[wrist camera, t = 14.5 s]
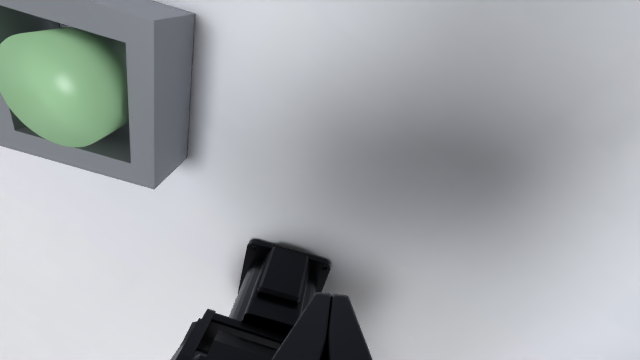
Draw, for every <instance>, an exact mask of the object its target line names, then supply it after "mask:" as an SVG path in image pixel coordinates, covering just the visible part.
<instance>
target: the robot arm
mask: <svg viewBox="0 0 640 360" xmlns="http://www.w3.org/2000/svg"><path fill="white" fill-rule="evenodd" d="M253 246H256V247H253ZM323 265H324V266H325V267H324V266H323ZM330 267H331V263H330V262H329V261H328V260H326V259H322V258H319V257H315V256H311V255H308V254H304V253H301V252H297V251H294V250H290V249H287V248H283V247H279V246H276V245H272V244H269V243H265V242H262V241H258V240H251V241H250V242H249V244H248V246H247V250H246V255H245V260H244V265H243V270H242V275H241V280H240V285H239V290H238V296H237V298H236V301H235V303H234V305H233V308H232V310H231V313H230V315H229V317H227V316H224V315H221V314H217V313H215V312H216V311H213V310H210V309H207V311H206V312H205V314H204V316H203V318H202V319H200V318H199V319H198V321H197V322H193V323H192V324H191V326H190V328H189V330H188V332H187V334H186V336H185V338H184V340H183V342H182V344H181V345H180V347H179V348H178V350H177V351H176V353H175V354H174V355H173V357H172V358H171V360H372V357H371V355H370V352H369V349H368V347H367V344H366V341H365V339H364V336H363V333H362V331H361V328H360V326H359V323H358V320H357V318H356V315H355V312H354V310H353V307H352V305H351V302H350V299H349V297H348V296H346V295H339V294H334V295H332V296H331V294H329V293H321V291H322V289H323V286H324V284H325V281H326V279H327V276H328V274H329V271H330Z"/></svg>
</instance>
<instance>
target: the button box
mask: <svg viewBox="0 0 640 360" xmlns="http://www.w3.org/2000/svg"><path fill="white" fill-rule="evenodd" d="M194 21H195V14H194V13H191V12H187V11H184V10H181V9H177V8H174V7H171V6H168V5H164V4H161V3H158V2H154V1H151V0H0V44H1V43H2V42H3V41H4V40H5V39H6V38H8V37H10V36H12V35H16V34H20V33H27V32H35V31H42V30H49V29H57V28H60V25H59V23H61V24H65V25H68V26H71V27H75V28H78V29H81V30H85V31H88V32H91V33H95V34H98V35H101V36H105V37H108V38H111V39H115V40H118V41H121V42H125V43H126V62H127V85H128V108H129V124H126V125H124V126H122V127H121V128H119V129H117V130H115V131H114V132H112V133H110V134H109V135H107V136H105V137H103V138H102V139H100V140H98V141H96V142H95V143H93V144H91V145H88V146H84V147H67V146H62V145H59V144H56V143H53V142H51V141H49V140H46V139H45V138H43V137H41V136H39V135H38V134H36V133H35V132H33V131H32V130H31V129H30V128H28V127H27V126H26V125H25V124H24V123H23V122H22V121H20V119H19V118H18V117H17V116H16V115H15V114H14V113H13V112H12V110H11V109H10V108H9V106H8V105H7V103H6V102H5V100H4V98H3V97H2V95H1V93H0V146H3V147H6V148H10V149H14V150H17V151H21V152H24V153H28V154H31V155H35V156H38V157H42V158H45V159H49V160H52V161H56V162H59V163H63V164H67V165H70V166H74V167H77V168H81V169H84V170H88V171H91V172H95V173H98V174H102V175H105V176H109V177H112V178H116V179H119V180H123V181H127V182H130V183H134V184H137V185H141V186H144V187H148V188H151V189H155V188H156V187H157V186H158V185H159V184H160V183H161V182H162V181H163V180H164V179H165V178H167V177H168V176H169V175H170V174H171V173H172V172H173V171H174V170H175V169H176V168H177V167H178V166H179V165H180V164H181V163H182V162H183V161H184V160H185V159H186V158H187V143H188V125H189V108H190V91H191V73H192V56H193V39H194Z"/></svg>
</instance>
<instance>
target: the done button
mask: <svg viewBox="0 0 640 360" xmlns="http://www.w3.org/2000/svg"><path fill="white" fill-rule="evenodd" d="M0 93H1V95H2V97H3V98H4V100H5V102H6V103H7V105H8V106H9V108H10V109H11V110H12V112H13V113H14V114H15V115H16V116H17V117H18V118H19V119H20V121H22V122H23V123H24V124H25V125H26V126H27V127H28V128H30V129H31V130H32V131H33V132H35V133H36V134H38V135H39V136H41V137H43V138H45V139H46V140H49V141H51V142H53V143H56V144H59V145H62V146H67V147H84V146H88V145H91V144H93V143H95V142H96V141H98V140H100V139H102V138H103V137H105V136H107V135H109V134H110V133H112V132H114V131H115V130H117V129H119V128H121V127H122V126H124V125H126V124H128V123H129V108H128V85H127V62H126V43H125V42H121V41H118V40H115V39H111V38H108V37H105V36H101V35H98V34H95V33H91V32H88V31H85V30H81V29H78V28H75V27H64V28H57V29H49V30H42V31H35V32H27V33H20V34H16V35H12V36H10V37H8V38H6V39H5V40H4V41H3V42H2V43H1V44H0Z"/></svg>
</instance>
